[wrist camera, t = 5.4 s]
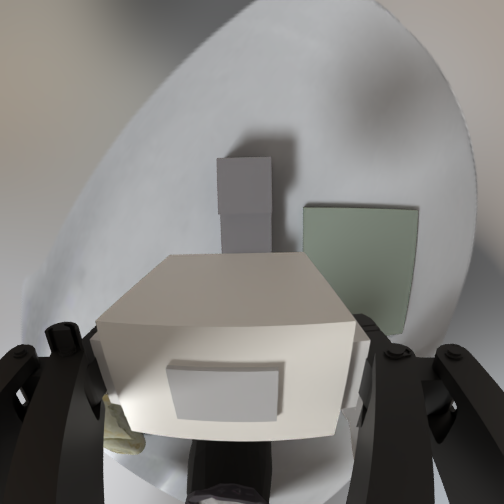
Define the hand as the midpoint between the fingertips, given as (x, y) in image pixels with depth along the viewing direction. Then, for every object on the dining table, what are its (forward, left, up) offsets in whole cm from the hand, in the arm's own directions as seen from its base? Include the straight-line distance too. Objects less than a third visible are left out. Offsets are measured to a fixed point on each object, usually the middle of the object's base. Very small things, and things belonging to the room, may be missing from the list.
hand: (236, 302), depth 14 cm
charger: (0, 0, -1) cm, 1 cm away
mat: (-5, -13, -17) cm, 22 cm away
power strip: (-3, 0, -17) cm, 17 cm away
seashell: (-28, +22, -17) cm, 40 cm away
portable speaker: (-21, +2, -17) cm, 27 cm away
